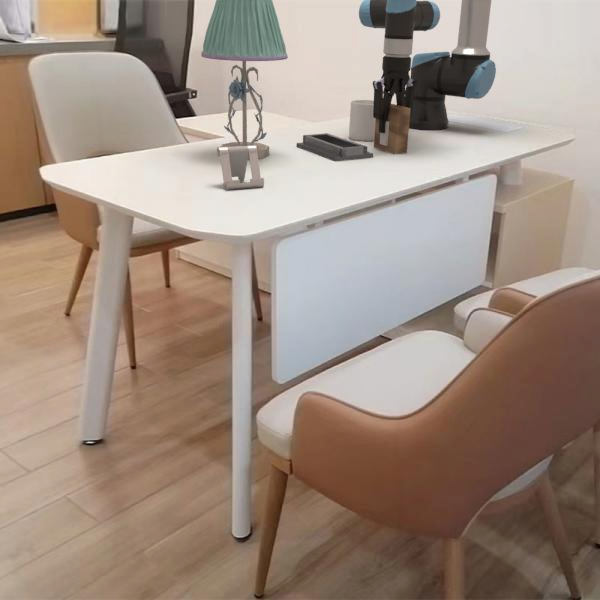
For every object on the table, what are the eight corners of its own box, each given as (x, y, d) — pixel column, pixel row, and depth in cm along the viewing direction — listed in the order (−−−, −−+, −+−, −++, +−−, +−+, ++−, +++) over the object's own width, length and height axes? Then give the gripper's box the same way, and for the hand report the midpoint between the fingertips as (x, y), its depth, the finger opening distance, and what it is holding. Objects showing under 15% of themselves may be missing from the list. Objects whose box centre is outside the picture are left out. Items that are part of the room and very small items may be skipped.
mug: (390, 137, 222) (393, 101, 217) (365, 142, 213) (368, 105, 209) (367, 133, 227) (370, 98, 223) (342, 138, 219) (344, 101, 215)
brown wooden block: (385, 146, 210) (388, 102, 205) (406, 152, 202) (410, 108, 197) (373, 147, 208) (376, 103, 203) (395, 154, 200) (398, 109, 195)
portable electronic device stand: (227, 191, 160) (226, 152, 157) (215, 182, 167) (215, 145, 163) (264, 188, 163) (264, 150, 160) (251, 179, 170) (251, 143, 166)
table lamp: (186, 153, 193) (181, -12, 178) (246, 143, 208) (246, -11, 192) (242, 168, 180) (242, -10, 164) (302, 155, 195) (307, -8, 179)
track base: (332, 143, 211) (333, 132, 210) (373, 157, 195) (373, 146, 194) (296, 146, 206) (296, 135, 204) (335, 161, 190) (335, 149, 189)
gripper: (413, 53, 202) (406, 139, 211) (362, 54, 194) (357, 143, 203) (431, 56, 196) (423, 144, 205) (379, 57, 188) (373, 149, 197)
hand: (390, 143), depth 204 cm, fingers closed on brown wooden block, 4 cm apart
